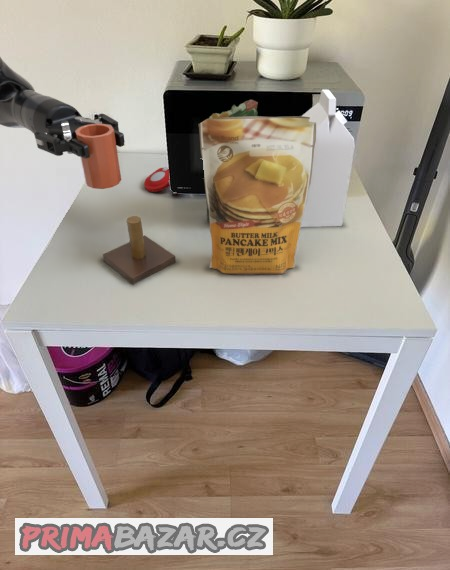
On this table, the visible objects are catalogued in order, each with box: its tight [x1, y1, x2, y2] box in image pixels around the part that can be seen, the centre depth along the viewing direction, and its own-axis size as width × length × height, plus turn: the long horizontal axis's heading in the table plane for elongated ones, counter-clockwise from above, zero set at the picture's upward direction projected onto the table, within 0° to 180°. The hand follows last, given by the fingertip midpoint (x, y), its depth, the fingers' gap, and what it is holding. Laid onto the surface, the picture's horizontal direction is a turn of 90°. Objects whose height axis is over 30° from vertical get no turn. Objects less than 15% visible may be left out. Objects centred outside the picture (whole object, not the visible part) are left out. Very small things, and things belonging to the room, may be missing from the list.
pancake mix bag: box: [197, 115, 316, 275], centre depth 77 cm, size 7×19×28 cm, turn 91°
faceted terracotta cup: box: [75, 124, 122, 190], centre depth 75 cm, size 6×6×9 cm
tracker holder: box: [143, 166, 180, 195], centre depth 109 cm, size 12×4×10 cm
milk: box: [301, 89, 356, 228], centre depth 93 cm, size 12×12×26 cm
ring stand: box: [102, 215, 177, 285], centre depth 83 cm, size 10×10×10 cm
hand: (105, 146), depth 72 cm, fingers closed on faceted terracotta cup, 6 cm apart
